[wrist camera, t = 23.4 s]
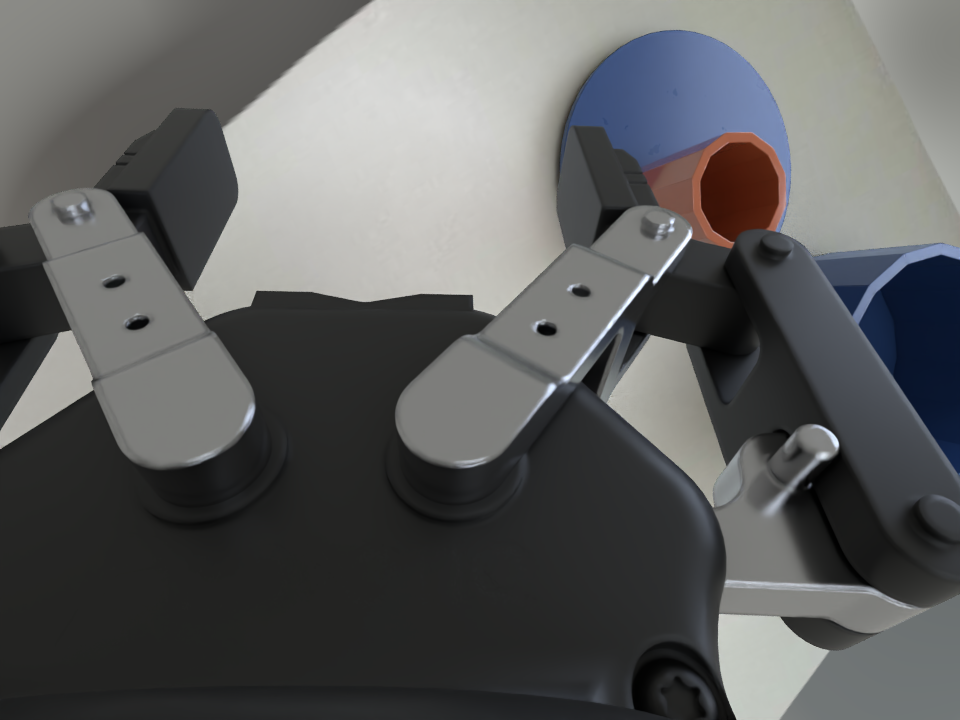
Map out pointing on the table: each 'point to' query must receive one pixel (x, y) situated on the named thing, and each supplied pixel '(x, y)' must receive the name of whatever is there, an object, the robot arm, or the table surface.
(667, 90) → the lid
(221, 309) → the table surface
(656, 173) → the cup
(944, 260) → the pot
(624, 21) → the table surface
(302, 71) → the table surface
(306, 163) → the table surface
